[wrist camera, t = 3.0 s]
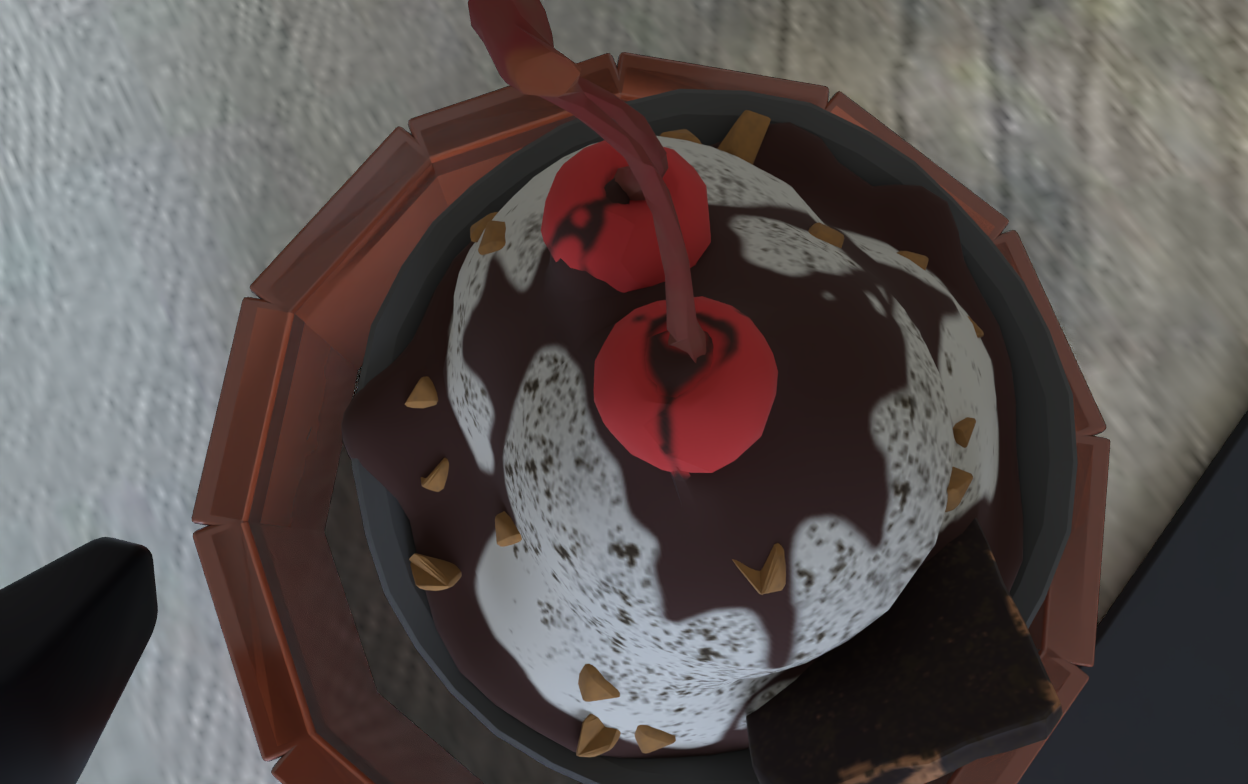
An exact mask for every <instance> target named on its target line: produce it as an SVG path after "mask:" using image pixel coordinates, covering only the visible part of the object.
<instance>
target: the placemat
mask: <svg viewBox="0 0 1248 784" xmlns="http://www.w3.org/2000/svg"><path fill="white" fill-rule="evenodd" d="M1076 666H1077V665H1076ZM1078 667H1079V668H1080V669H1081V670H1083V671H1084V672H1085V673H1086V674H1087V675H1088V676H1089V680H1088V681H1087V683H1086V684H1085V686H1084V687H1083V689H1082V690H1081V692H1080V693H1079V695H1078V696H1077V697H1076V699H1075V700H1074V702H1073V703H1072V705H1071V706H1070V708H1069V709H1068V711H1067V712H1066V713H1065V715H1064V716H1063V718H1062V719H1061V721H1060V722H1059V724H1058V725H1057V726H1056V728H1055V729H1054V731H1053V732H1052V734H1051V735H1050V737H1049V738H1048V740H1047V741H1046V742H1045V744H1044V745H1043V747H1042V748H1041V750H1040V751H1039V753H1038V754H1037V756H1036V757H1035V758H1034V760H1033V761H1032V763H1031V764H1030V766H1029V767H1028V769H1027V770H1026V771H1025V773H1024V774H1023V776H1022V777H1021V779H1020V780H1019V782H1018V783H1017V784H1248V411H1247V412H1246V414H1245V415H1244V416H1243V418H1242V419H1241V421H1240V422H1239V424H1238V425H1237V427H1236V428H1235V429H1234V431H1233V432H1232V434H1231V435H1230V437H1229V438H1228V440H1227V441H1226V442H1225V444H1224V445H1223V447H1222V448H1221V450H1220V451H1219V453H1218V454H1217V455H1216V457H1215V458H1214V460H1213V461H1212V463H1211V464H1210V465H1209V467H1208V468H1207V470H1206V471H1205V473H1204V474H1203V476H1202V477H1201V478H1200V480H1199V481H1198V483H1197V484H1196V486H1195V487H1194V489H1193V490H1192V491H1191V493H1190V494H1189V496H1188V497H1187V499H1186V500H1185V501H1184V503H1183V504H1182V506H1181V507H1180V509H1179V510H1178V512H1177V513H1176V514H1175V516H1174V517H1173V519H1172V520H1171V522H1170V523H1169V525H1168V526H1167V527H1166V529H1165V530H1164V532H1163V533H1162V535H1161V536H1160V537H1159V539H1158V540H1157V542H1156V543H1155V545H1154V546H1153V548H1152V549H1151V550H1150V552H1149V553H1148V555H1147V556H1146V558H1145V559H1144V561H1143V562H1142V563H1141V565H1140V566H1139V568H1138V569H1137V571H1136V572H1135V574H1134V575H1133V576H1132V578H1131V579H1130V581H1129V582H1128V584H1127V585H1126V586H1125V588H1124V589H1123V591H1122V592H1121V594H1120V595H1119V597H1118V598H1117V599H1116V601H1115V602H1114V604H1113V605H1112V607H1111V608H1110V610H1109V611H1108V612H1107V614H1106V615H1105V617H1104V618H1103V620H1102V621H1101V622H1100V624H1099V625H1098V627H1097V630H1096V644H1095V657H1094V665H1093V667H1083V666H1078Z"/></svg>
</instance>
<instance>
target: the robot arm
mask: <svg viewBox="0 0 1248 784" xmlns="http://www.w3.org/2000/svg"><path fill="white" fill-rule="evenodd" d="M157 613H158V605H157V595H156V585H155V575H154V565H153V558H152V554H151V552H150V551H149V550H148V548H147V547H145V546H142V545H139V544H135V543H131V542H127V541H123V540H119V539H115V538H110V537H101V538H98V539H94V540H92V541H90V542H88V543H86V544H84V545H83V546H81V547H79V548H77V549H75V550H73V551H71V552H70V553H68V554H66V555H64V556H62V557H60V558H58V559H57V560H55V561H53V562H51V563H49V564H47V565H45V566H44V567H42V568H40V569H38V570H36V571H34V572H32V573H31V574H29V575H27V576H25V577H23V578H21V579H19V580H18V581H16V582H14V583H12V584H10V585H8V586H6V587H5V588H3V589H1V590H0V784H76V783H77V781H78V779H79V777H80V775H81V773H82V771H83V770H84V768H85V766H86V764H87V762H88V760H89V758H90V756H91V754H92V752H93V750H94V748H95V746H96V744H97V742H98V740H99V738H100V736H101V734H102V732H103V730H104V728H105V726H106V724H107V722H108V720H109V718H110V716H111V714H112V712H113V710H114V708H115V706H116V704H117V702H118V700H119V698H120V697H121V695H122V693H123V691H124V689H125V687H126V685H127V683H128V681H129V679H130V677H131V675H132V673H133V671H134V669H135V667H136V665H137V663H138V661H139V659H140V657H141V655H142V653H143V651H144V649H145V647H146V645H147V643H148V641H149V639H150V637H151V635H152V633H153V630H154V627H155V624H156V620H157Z"/></svg>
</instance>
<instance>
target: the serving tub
mask: <svg viewBox="0 0 1248 784" xmlns="http://www.w3.org/2000/svg"><path fill="white" fill-rule="evenodd" d="M576 64H577V65H578V66H580V67H581V73H580V76H579V77H581V78H584V79H587V80H588V81H590V82H592V83H594V84H596V85H598V86H599V87H601V88H603V89H605V90H607V91H609V92H610V93H612V94H614V95H615V96H617V97H618V98H620V99H621V100H622V101H624V102H627V101H631V100H635V99H639V98H643V97H647V96H652V95H656V94H660V93H664V92H668V91H672V90H676V89H704V90H743V91H751V92H756V93H761V94H767V95H772V96H777V97H783V98H788V99H793V100H799V101H804V102H809V103H812V104H814V105H816V106H818V107H820V108H823V109H825V110H827V111H829V112H831V113H833V114H835V115H837V116H839V117H841V118H843V119H845V120H847V121H849V122H851V123H853V124H855V125H857V126H860V127H862V128H864V129H866V130H868V131H870V132H871V133H873V134H874V135H876V136H877V137H879V138H880V139H882V140H883V141H885V142H886V143H888V144H889V145H891V146H892V147H894V148H895V149H897V150H898V151H900V152H901V153H903V154H905V155H906V156H908V157H909V158H911V159H912V160H914V161H915V162H916V163H917V164H918V165H919V166H920V167H921V168H922V169H923V170H924V171H926V172H927V173H928V174H929V175H930V176H931V177H932V178H933V179H934V180H935V181H936V182H937V183H938V184H939V185H940V186H941V187H942V188H943V189H944V190H945V191H946V192H948V193H949V194H950V195H951V196H952V197H953V198H954V199H955V200H956V201H957V202H958V204H959V205H960V206H961V207H962V208H963V209H964V210H965V211H966V212H967V213H968V215H969V216H970V217H971V218H972V219H973V220H974V221H975V222H976V223H977V224H978V226H979V227H980V228H981V229H982V230H983V231H984V232H985V233H986V234H987V235H988V237H989V238H990V239H991V240H992V242H993V243H994V244H995V245H996V247H997V248H998V249H999V250H1000V252H1001V253H1002V254H1003V256H1004V257H1005V258H1006V259H1007V261H1008V262H1009V263H1010V264H1011V266H1012V267H1013V268H1014V270H1015V271H1016V272H1017V273H1018V275H1019V276H1020V277H1021V278H1022V280H1023V281H1024V283H1025V285H1026V287H1027V288H1028V290H1029V292H1030V294H1031V296H1032V298H1033V300H1034V302H1035V304H1036V306H1037V307H1038V309H1039V311H1040V313H1041V315H1042V317H1043V319H1044V321H1045V323H1046V325H1047V326H1048V328H1049V330H1050V333H1051V336H1052V338H1053V341H1054V344H1055V347H1056V349H1057V352H1058V355H1059V358H1060V360H1061V363H1062V366H1063V369H1064V371H1065V374H1066V377H1067V380H1068V382H1069V385H1070V388H1071V391H1072V393H1073V404H1074V418H1075V432H1076V446H1077V460H1078V464H1077V475H1076V485H1075V496H1074V506H1073V517H1072V527H1071V534H1070V536H1069V539H1068V541H1067V544H1066V546H1065V549H1064V552H1063V554H1062V557H1061V559H1060V562H1059V564H1058V567H1057V569H1056V572H1055V575H1054V577H1053V580H1052V582H1051V585H1050V587H1049V590H1048V592H1047V595H1046V597H1045V600H1044V601H1043V603H1042V605H1041V607H1040V609H1039V610H1038V612H1037V614H1036V616H1035V618H1034V619H1033V621H1032V623H1031V625H1030V627H1029V628H1028V630H1029V632H1030V635H1031V637H1032V639H1033V642H1034V644H1035V646H1036V649H1037V651H1038V654H1039V656H1040V658H1041V661H1042V663H1043V665H1044V668H1045V670H1046V672H1047V674H1048V676H1049V679H1050V681H1051V683H1052V685H1053V687H1054V689H1055V692H1056V694H1057V696H1058V698H1059V700H1060V703H1061V706H1062V711H1063V715H1062V717H1061V718H1060V720H1059V721H1058V723H1057V724H1056V726H1057V725H1058V724H1059V722H1060V721H1061V719H1062V718H1063V716H1064V715H1065V713H1066V712H1067V711H1068V709H1069V708H1070V706H1071V705H1072V703H1073V702H1074V700H1075V699H1076V697H1077V696H1078V695H1079V693H1080V692H1081V690H1082V689H1083V687H1084V686H1085V684H1086V683H1087V681H1088V680H1089V676H1088V675H1087V674H1086V673H1085V672H1084V671H1083V670H1081V669H1080V668H1079V667H1078V666H1083V667H1093V665H1094V657H1095V644H1096V630H1097V616H1098V603H1099V589H1100V575H1101V562H1102V548H1103V534H1104V521H1105V507H1106V494H1107V480H1108V466H1109V453H1110V440H1109V439H1107V438H1103V437H1097V436H1094V435H1097V434H1100V433H1102V432H1103V431H1104V430H1105V429H1106V424H1105V422H1104V420H1103V418H1102V415H1101V413H1100V411H1099V409H1098V407H1097V405H1096V402H1095V400H1094V398H1093V396H1092V394H1091V391H1090V389H1089V387H1088V385H1087V383H1086V381H1085V378H1084V376H1083V374H1082V372H1081V370H1080V368H1079V365H1078V363H1077V361H1076V359H1075V357H1074V355H1073V352H1072V350H1071V348H1070V346H1069V344H1068V341H1067V339H1066V337H1065V335H1064V333H1063V331H1062V328H1061V326H1060V324H1059V322H1058V320H1057V318H1056V315H1055V313H1054V311H1053V309H1052V307H1051V305H1050V302H1049V300H1048V298H1047V296H1046V294H1045V291H1044V289H1043V287H1042V285H1041V283H1040V281H1039V278H1038V276H1037V274H1036V272H1035V270H1034V268H1033V265H1032V263H1031V261H1030V259H1029V257H1028V255H1027V252H1026V250H1025V248H1024V246H1023V244H1022V241H1021V239H1020V237H1019V235H1018V233H1017V232H1016V231H1015V230H1010V231H1007V232H1004V233H1002V231H1003V230H1004V229H1005V228H1006V226H1007V225H1008V222H1009V220H1008V219H1007V218H1006V217H1005V216H1003V215H1002V214H1001V213H999V212H998V211H997V210H995V209H994V208H993V207H991V206H990V205H989V204H988V203H986V202H985V201H984V200H982V199H981V198H980V197H978V196H977V195H976V194H974V193H973V192H972V191H970V190H969V189H968V188H967V187H965V186H964V185H963V184H961V183H960V182H959V181H957V180H956V179H955V178H953V177H952V176H951V175H949V174H948V173H947V172H946V171H944V170H943V169H942V168H940V167H939V166H938V165H936V164H935V163H934V162H932V161H931V160H930V159H929V158H927V157H926V156H925V155H923V154H922V153H921V152H919V151H918V150H917V149H915V148H914V147H913V146H911V145H910V144H909V143H908V142H906V141H905V140H904V139H902V138H901V137H900V136H898V135H897V134H896V133H894V132H893V131H892V130H890V129H889V128H888V127H887V126H885V125H884V124H883V123H881V122H880V121H879V120H877V119H876V118H875V117H873V116H872V115H871V114H870V113H868V112H867V111H866V110H864V109H863V108H862V107H860V106H859V105H858V104H856V103H855V102H854V101H852V100H851V99H850V98H849V97H847V96H846V95H845V94H843V93H842V92H840V91H838V92H837V93H835V94H834V96H833V97H832V98H831V99H830V100H829V89H828V87H826V86H821V85H815V84H809V83H804V82H798V81H792V80H786V79H780V78H774V77H768V76H762V75H756V74H750V73H745V72H739V71H733V70H727V69H721V68H715V67H709V66H703V65H697V64H692V63H686V62H680V61H674V60H668V59H662V58H656V57H650V56H644V55H638V54H633V53H627V52H622V53H621V54H620V55H619V57H618V62H617V66H616V63H615V61H614V58H613V56H612V55H611V54H610V53H606V54H603V55H600V56H597V57H594V58H591V59H588V60H585V61H582V62H579V63H576ZM828 100H829V102H828ZM574 119H577V117H575V116H574V115H573V114H571V113H569V112H568V111H566V110H564V109H562V108H561V107H559V106H557V105H555V104H553V103H551V102H549V101H547V100H545V99H543V98H541V97H540V96H538V95H528V94H523V93H521V92H520V91H518V90H517V89H515V88H513V87H512V86H507V87H504V88H501V89H498V90H495V91H492V92H489V93H486V94H483V95H480V96H477V97H474V98H471V99H468V100H465V101H462V102H459V103H456V104H453V105H450V106H447V107H444V108H441V109H438V110H435V111H432V112H429V113H426V114H423V115H420V116H417V117H414V118H411V119H410V120H409V121H408V126H409V129H410V132H411V134H410V133H409V132H407V131H406V130H405V129H404V128H402V127H399V126H398V127H396V128H395V130H394V131H393V132H392V133H391V134H390V135H389V136H388V137H387V138H386V139H385V140H384V141H383V142H382V144H381V145H380V146H379V147H378V148H377V149H376V150H375V151H374V152H373V153H372V154H371V155H370V157H369V158H368V159H367V160H366V161H365V162H364V163H363V164H362V165H361V166H360V167H359V168H358V169H357V171H356V172H355V173H354V174H353V175H352V176H351V177H350V178H349V179H348V180H347V181H346V182H345V184H344V185H343V186H342V187H341V188H340V189H339V190H338V191H337V192H336V193H335V194H334V195H333V196H332V198H331V199H330V200H329V201H328V202H327V203H326V204H325V205H324V206H323V207H322V208H321V209H320V211H319V212H318V213H317V214H316V215H315V216H314V217H313V218H312V219H311V220H310V221H309V222H308V223H307V225H306V226H305V227H304V228H303V229H302V230H301V231H300V232H299V233H298V234H297V235H296V236H295V238H294V239H293V240H292V241H291V242H290V243H289V244H288V245H287V246H286V247H285V248H284V249H283V250H282V252H281V253H280V254H279V255H278V256H277V257H276V258H275V259H274V260H273V261H272V262H271V263H270V265H269V266H268V267H267V268H266V269H265V270H264V271H263V272H262V273H261V274H260V275H259V276H258V277H257V279H256V280H255V281H254V282H253V283H252V284H251V286H250V289H251V291H252V292H253V293H254V294H255V295H256V296H258V297H259V298H260V299H259V298H253V297H244V299H243V300H242V304H241V309H240V313H239V317H238V322H237V326H236V330H235V334H234V339H233V343H232V347H231V352H230V356H229V360H228V364H227V369H226V373H225V377H224V381H223V386H222V390H221V394H220V399H219V403H218V407H217V411H216V416H215V420H214V424H213V428H212V433H211V437H210V441H209V446H208V450H207V454H206V458H205V463H204V467H203V471H202V476H201V480H200V484H199V488H198V493H197V497H196V501H195V505H194V510H193V514H192V522H194V523H195V524H202V525H208V526H206V527H203V528H201V529H198V530H196V531H195V532H194V533H193V539H194V543H195V546H196V549H197V552H198V555H199V559H200V562H201V565H202V568H203V571H204V574H205V578H206V581H207V584H208V587H209V590H210V594H211V597H212V600H213V603H214V606H215V610H216V613H217V616H218V619H219V622H220V626H221V629H222V632H223V635H224V638H225V642H226V645H227V648H228V651H229V654H230V658H231V661H232V664H233V667H234V670H235V673H236V677H237V680H238V683H239V686H240V689H241V693H242V696H243V699H244V702H245V705H246V709H247V712H248V715H249V718H250V721H251V725H252V728H253V731H254V734H255V737H256V741H257V744H258V747H259V750H260V753H261V756H262V758H263V760H264V761H272V760H275V759H277V758H280V757H281V758H280V759H279V760H278V762H277V763H276V764H275V765H274V766H273V768H272V771H271V773H272V775H273V776H274V777H275V778H276V779H277V780H279V781H280V782H281V783H282V784H484V783H483V782H482V781H481V780H479V779H478V778H477V777H476V776H475V775H474V774H472V773H471V772H470V771H469V770H468V769H467V768H465V767H464V766H463V765H462V764H461V763H460V762H458V761H457V760H456V759H455V758H454V757H453V756H451V755H450V754H449V753H448V752H447V751H446V750H444V749H443V748H442V747H441V746H440V745H439V744H437V743H436V742H435V741H434V740H433V739H432V738H430V737H429V736H428V735H427V734H426V733H425V732H423V731H422V730H421V729H420V728H419V727H418V726H416V725H415V724H414V723H413V722H412V721H411V720H409V719H408V718H407V717H406V716H405V715H404V714H402V713H401V712H400V711H399V710H398V709H397V708H395V707H394V706H393V705H392V704H391V703H390V702H388V701H387V700H386V699H385V698H384V697H383V696H381V695H380V694H379V693H378V692H377V689H376V686H375V683H374V680H373V677H372V674H371V671H370V668H369V665H368V662H367V659H366V656H365V653H364V650H363V647H362V644H361V641H360V638H359V635H358V632H357V629H356V626H355V623H354V620H353V617H352V614H351V611H350V608H349V605H348V602H347V599H346V596H345V593H344V590H343V587H342V584H341V581H340V578H339V575H338V572H337V569H336V566H335V563H334V560H333V557H332V554H331V551H330V548H329V545H328V542H327V539H326V536H325V533H324V530H325V526H326V521H327V516H328V511H329V507H330V502H331V497H332V492H333V487H334V483H335V478H336V473H337V468H338V464H339V459H340V454H341V449H342V445H343V438H342V427H341V425H342V420H343V416H344V412H345V410H346V408H347V407H348V405H349V404H350V402H351V400H352V397H353V392H354V387H355V383H356V378H357V373H358V370H359V369H360V367H361V366H362V365H363V360H364V355H365V351H366V346H367V341H368V337H369V332H370V327H371V324H372V322H373V320H374V318H375V316H376V315H377V313H378V311H379V309H380V307H381V305H382V303H383V301H384V299H385V297H386V295H387V293H388V291H389V289H390V288H391V286H392V284H393V282H394V280H395V278H396V276H397V274H398V272H399V270H400V268H401V266H402V265H403V263H404V262H405V261H406V259H407V258H408V256H409V255H410V253H411V252H412V251H413V249H414V248H415V246H416V245H417V243H418V242H419V241H420V239H421V238H422V236H423V235H424V233H425V232H426V231H427V229H428V228H429V226H430V225H431V223H432V222H433V221H434V220H435V219H436V218H437V217H438V216H439V215H440V214H441V213H442V212H444V211H445V210H446V209H447V208H448V207H449V206H450V205H451V204H452V203H453V202H454V201H455V200H456V199H457V198H458V197H459V196H461V195H462V194H463V193H464V192H465V191H466V190H467V189H468V188H469V187H470V186H471V185H472V184H474V183H475V182H476V181H478V180H479V179H480V178H482V177H483V176H484V175H485V174H487V173H488V172H489V171H491V170H492V169H493V168H495V167H496V166H497V165H499V164H500V163H501V162H503V161H504V160H505V159H507V158H508V157H509V156H511V155H512V154H513V153H515V152H517V151H518V150H520V149H522V148H523V147H525V146H527V145H528V144H530V143H531V142H533V141H535V140H536V139H538V138H540V137H541V136H543V135H545V134H546V133H548V132H550V131H551V130H553V129H554V128H556V127H558V126H559V125H561V124H564V123H566V122H569V121H572V120H574ZM1001 233H1002V234H1001ZM1076 665H1077V666H1076ZM1056 726H1055V727H1054V729H1055V728H1056ZM1054 729H1053V730H1052V732H1053V731H1054ZM1052 732H1051V733H1050V735H1051V734H1052ZM1050 735H1049V736H1048V738H1049V737H1050ZM1048 738H1047V739H1045V740H1042V741H1039V742H1036V743H1033V744H1030V745H1027V746H1024V747H1021V748H1018V749H1015V750H1012V751H1008V752H1004V753H1000V754H996V755H992V756H988V757H984V758H980V759H976V760H974V761H972V762H970V763H968V764H966V765H964V766H962V767H960V768H958V769H956V770H954V771H952V772H950V773H948V774H946V775H944V776H942V777H940V778H937V779H935V780H932V781H930V782H927V783H924V784H1017V783H1018V782H1019V780H1020V779H1021V777H1022V776H1023V774H1024V773H1025V771H1026V770H1027V769H1028V767H1029V766H1030V764H1031V763H1032V761H1033V760H1034V758H1035V757H1036V756H1037V754H1038V753H1039V751H1040V750H1041V748H1042V747H1043V745H1044V744H1045V742H1046V741H1047V740H1048Z"/></svg>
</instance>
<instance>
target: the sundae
mask: <svg viewBox="0 0 1248 784" xmlns="http://www.w3.org/2000/svg"><path fill="white" fill-rule="evenodd" d="M468 7H469V13H470V20H471V26H472V27H473V29H474V30H475V31H476V33H477V34H478V35H479V37H480V38H481V40H482V41H483V42H484V44H485V46H486V48H487V50H488V52H489V54H490V56H491V58H492V60H493V62H494V64H495V66H496V68H497V70H498V72H499V74H500V76H501V77H502V78H503V79H504V81H505V82H506V83H507V84H509V85H510V86H512V87H513V88H515V89H517V90H518V91H520V92H521V93H523V94H528V95H538V96H540V97H541V98H543V99H545V100H547V101H549V102H551V103H553V104H555V105H557V106H559V107H561V108H562V109H564V110H566V111H568V112H569V113H571V114H573V115H574V116H575V117H577V119H574V120H572V121H569V122H566V123H564V124H561V125H559V126H558V127H556V128H554V129H553V130H551V131H550V132H548V133H546V134H545V135H543V136H541V137H540V138H538V139H536V140H535V141H533V142H531V143H530V144H528V145H527V146H525V147H523V148H522V149H520V150H518V151H517V152H515V153H513V154H512V155H511V156H509V157H508V158H507V159H505V160H504V161H503V162H501V163H500V164H499V165H497V166H496V167H495V168H493V169H492V170H491V171H489V172H488V173H487V174H485V175H484V176H483V177H482V178H480V179H479V180H478V181H476V182H475V183H474V184H472V185H471V186H470V187H469V188H468V189H467V190H466V191H465V192H464V193H463V194H462V195H461V196H459V197H458V198H457V199H456V200H455V201H454V202H453V203H452V204H451V205H450V206H449V207H448V208H447V209H446V210H445V211H444V212H442V213H441V214H440V215H439V216H438V217H437V218H436V219H435V220H434V221H433V222H432V223H431V225H430V226H429V228H428V229H427V231H426V232H425V233H424V235H423V236H422V238H421V239H420V241H419V242H418V243H417V245H416V246H415V248H414V249H413V251H412V252H411V253H410V255H409V256H408V258H407V259H406V261H405V262H404V263H403V265H402V266H401V268H400V270H399V272H398V274H397V276H396V278H395V280H394V282H393V284H392V286H391V288H390V289H389V291H388V293H387V295H386V297H385V299H384V301H383V303H382V305H381V307H380V309H379V311H378V313H377V315H376V316H375V318H374V320H373V322H372V324H371V327H370V332H369V337H368V341H367V346H366V351H365V355H364V360H363V365H362V369H361V374H360V379H359V383H358V388H357V393H356V395H355V396H354V397H353V399H352V400H351V402H350V404H349V405H348V407H347V408H346V410H345V412H344V416H343V420H342V425H341V427H342V438H343V442H344V445H345V447H346V450H347V453H348V456H349V457H350V458H351V459H352V469H353V474H354V479H355V484H356V490H357V495H358V500H359V505H360V510H361V515H362V521H363V526H364V531H365V536H366V539H367V542H368V545H369V549H370V552H371V555H372V558H373V561H374V564H375V567H376V570H377V573H378V576H379V579H380V582H381V585H382V588H383V592H384V595H385V596H386V598H387V600H388V602H389V603H390V605H391V607H392V608H393V610H394V612H395V614H396V615H397V617H398V619H399V621H400V622H401V624H402V626H403V628H404V629H405V631H406V633H407V635H408V636H409V638H410V640H411V641H412V643H413V645H414V647H415V648H416V649H417V651H418V652H419V653H420V655H421V656H422V657H423V658H424V660H425V661H426V662H427V663H428V665H429V666H430V667H431V669H432V670H433V671H434V672H435V674H436V675H437V676H438V677H439V679H440V680H441V681H442V683H443V684H444V685H445V686H446V688H447V689H448V690H449V692H450V693H451V694H452V695H453V696H455V697H456V698H457V699H458V700H459V701H460V702H461V703H462V704H463V705H464V706H465V707H466V708H467V709H468V710H469V711H470V712H471V713H472V714H473V715H474V716H476V717H477V718H478V719H479V720H480V721H481V722H482V723H483V724H484V725H485V726H486V727H487V728H488V729H489V730H490V731H491V732H492V733H493V734H494V735H496V736H497V737H499V738H501V739H502V740H504V741H506V742H507V743H509V744H510V745H512V746H514V747H515V748H517V749H519V750H520V751H522V752H524V753H525V754H527V755H528V756H530V757H532V758H533V759H535V760H537V761H538V762H540V763H541V764H543V765H545V766H546V767H548V768H550V769H552V770H555V771H557V772H559V773H561V774H563V775H566V776H568V777H570V778H572V779H575V780H577V781H579V782H581V783H583V784H924V783H927V782H930V781H932V780H935V779H937V778H940V777H942V776H944V775H946V774H948V773H950V772H952V771H954V770H956V769H958V768H960V767H962V766H964V765H966V764H968V763H970V762H972V761H974V760H976V759H980V758H984V757H988V756H992V755H996V754H1000V753H1004V752H1008V751H1012V750H1015V749H1018V748H1021V747H1024V746H1027V745H1030V744H1033V743H1036V742H1039V741H1042V740H1045V739H1047V738H1048V736H1049V735H1050V733H1051V732H1052V730H1053V729H1054V727H1055V726H1056V724H1057V723H1058V721H1059V720H1060V718H1061V717H1062V715H1063V711H1062V706H1061V703H1060V700H1059V698H1058V696H1057V694H1056V692H1055V689H1054V687H1053V685H1052V683H1051V681H1050V679H1049V676H1048V674H1047V672H1046V670H1045V668H1044V665H1043V663H1042V661H1041V658H1040V656H1039V654H1038V651H1037V649H1036V646H1035V644H1034V642H1033V639H1032V637H1031V635H1030V632H1029V630H1028V628H1029V627H1030V625H1031V623H1032V621H1033V619H1034V618H1035V616H1036V614H1037V612H1038V610H1039V609H1040V607H1041V605H1042V603H1043V601H1044V600H1045V597H1046V595H1047V592H1048V590H1049V587H1050V585H1051V582H1052V580H1053V577H1054V575H1055V572H1056V569H1057V567H1058V564H1059V562H1060V559H1061V557H1062V554H1063V552H1064V549H1065V546H1066V544H1067V541H1068V539H1069V536H1070V534H1071V527H1072V517H1073V506H1074V496H1075V485H1076V475H1077V464H1078V460H1077V446H1076V432H1075V418H1074V404H1073V393H1072V391H1071V388H1070V385H1069V382H1068V380H1067V377H1066V374H1065V371H1064V369H1063V366H1062V363H1061V360H1060V358H1059V355H1058V352H1057V349H1056V347H1055V344H1054V341H1053V338H1052V336H1051V333H1050V330H1049V328H1048V326H1047V325H1046V323H1045V321H1044V319H1043V317H1042V315H1041V313H1040V311H1039V309H1038V307H1037V306H1036V304H1035V302H1034V300H1033V298H1032V296H1031V294H1030V292H1029V290H1028V288H1027V287H1026V285H1025V283H1024V281H1023V280H1022V278H1021V277H1020V276H1019V275H1018V273H1017V272H1016V271H1015V270H1014V268H1013V267H1012V266H1011V264H1010V263H1009V262H1008V261H1007V259H1006V258H1005V257H1004V256H1003V254H1002V253H1001V252H1000V250H999V249H998V248H997V247H996V245H995V244H994V243H993V242H992V240H991V239H990V238H989V237H988V235H987V234H986V233H985V232H984V231H983V230H982V229H981V228H980V227H979V226H978V224H977V223H976V222H975V221H974V220H973V219H972V218H971V217H970V216H969V215H968V213H967V212H966V211H965V210H964V209H963V208H962V207H961V206H960V205H959V204H958V202H957V201H956V200H955V199H954V198H953V197H952V196H951V195H950V194H949V193H948V192H946V191H945V190H944V189H943V188H942V187H941V186H940V185H939V184H938V183H937V182H936V181H935V180H934V179H933V178H932V177H931V176H930V175H929V174H928V173H927V172H926V171H924V170H923V169H922V168H921V167H920V166H919V165H918V164H917V163H916V162H915V161H914V160H912V159H911V158H909V157H908V156H906V155H905V154H903V153H901V152H900V151H898V150H897V149H895V148H894V147H892V146H891V145H889V144H888V143H886V142H885V141H883V140H882V139H880V138H879V137H877V136H876V135H874V134H873V133H871V132H870V131H868V130H866V129H864V128H862V127H860V126H857V125H855V124H853V123H851V122H849V121H847V120H845V119H843V118H841V117H839V116H837V115H835V114H833V113H831V112H829V111H827V110H825V109H823V108H820V107H818V106H816V105H814V104H812V103H809V102H804V101H799V100H793V99H788V98H783V97H777V96H772V95H767V94H761V93H756V92H751V91H743V90H704V89H676V90H672V91H668V92H664V93H660V94H656V95H652V96H647V97H643V98H639V99H635V100H631V101H627V102H624V101H622V100H621V99H620V98H618V97H617V96H615V95H614V94H612V93H610V92H609V91H607V90H605V89H603V88H601V87H599V86H598V85H596V84H594V83H592V82H590V81H588V80H587V79H584V78H581V77H579V76H580V73H581V67H580V66H578V65H577V64H575V63H574V62H573V61H571V60H570V59H569V58H567V57H566V56H564V55H563V54H562V53H560V52H559V51H557V50H556V49H555V48H554V45H553V37H552V32H551V29H550V25H549V22H548V19H547V15H546V12H545V9H544V8H543V6H542V4H541V2H540V0H469V1H468Z"/></svg>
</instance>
